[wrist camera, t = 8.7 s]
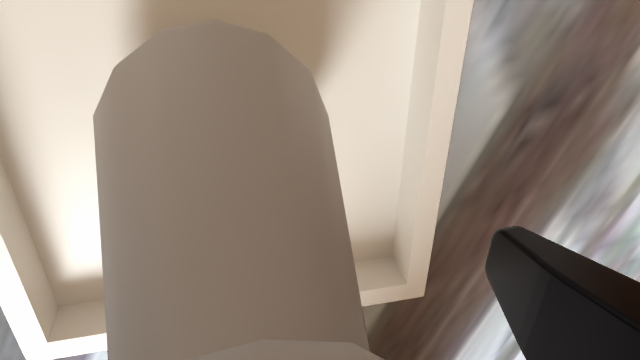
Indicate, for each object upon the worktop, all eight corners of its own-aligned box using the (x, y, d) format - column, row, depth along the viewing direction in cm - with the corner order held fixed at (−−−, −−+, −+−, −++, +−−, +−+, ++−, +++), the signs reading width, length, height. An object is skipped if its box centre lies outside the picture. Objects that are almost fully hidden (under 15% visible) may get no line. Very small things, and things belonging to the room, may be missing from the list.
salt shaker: (254, 207, 17) (372, 801, 6) (80, 145, 14) (-259, 978, 3) (343, 59, 15) (768, 557, 4) (157, -44, 12) (-82, 556, 1)
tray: (403, 259, 21) (423, 296, 19) (44, 313, 18) (27, 363, 16) (466, -230, 12) (515, -250, 10) (-197, -270, 9) (-290, -306, 8)
